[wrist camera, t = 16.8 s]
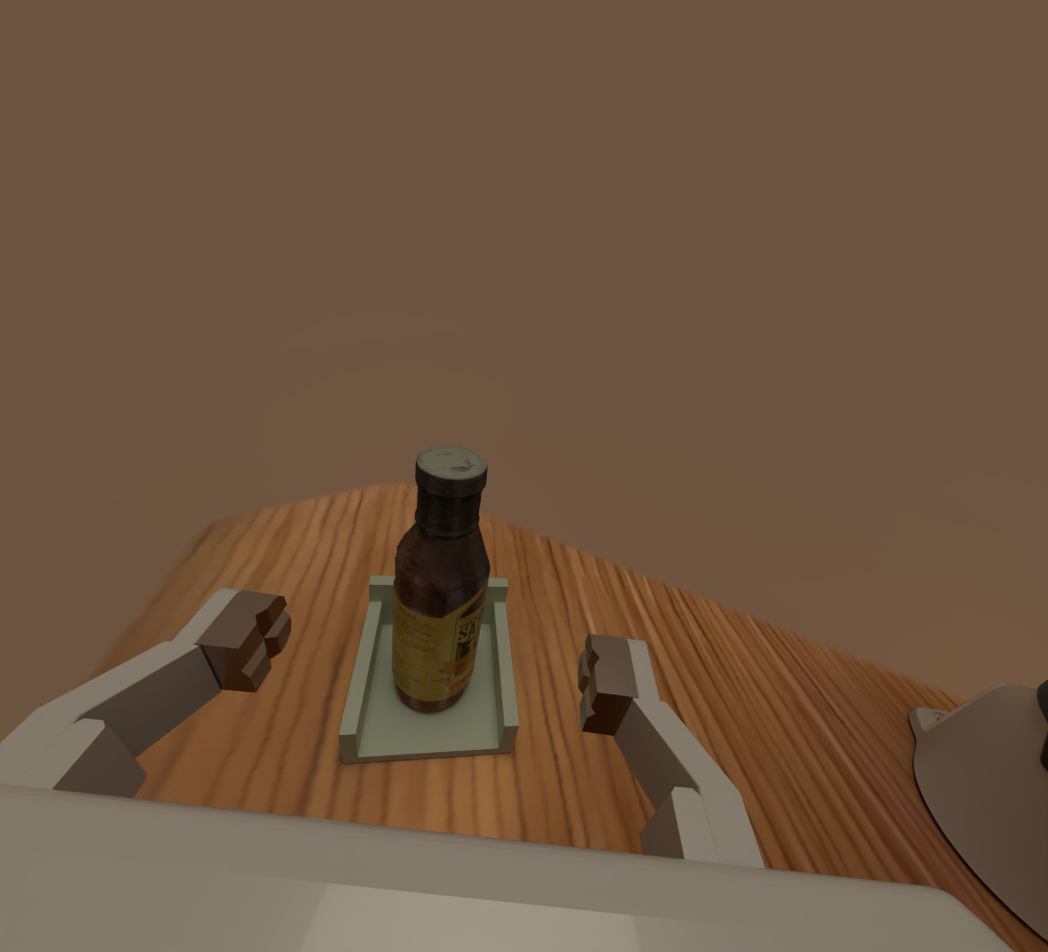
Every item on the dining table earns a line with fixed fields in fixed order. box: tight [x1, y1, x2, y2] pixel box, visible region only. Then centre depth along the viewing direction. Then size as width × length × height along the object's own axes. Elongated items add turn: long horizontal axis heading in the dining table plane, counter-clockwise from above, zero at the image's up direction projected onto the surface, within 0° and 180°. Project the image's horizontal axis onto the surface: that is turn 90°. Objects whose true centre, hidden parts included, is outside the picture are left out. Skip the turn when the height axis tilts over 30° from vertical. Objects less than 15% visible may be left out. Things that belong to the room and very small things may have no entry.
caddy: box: [339, 576, 519, 764], centre depth 32 cm, size 12×12×6 cm
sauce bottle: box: [392, 445, 490, 712], centre depth 28 cm, size 7×6×20 cm
